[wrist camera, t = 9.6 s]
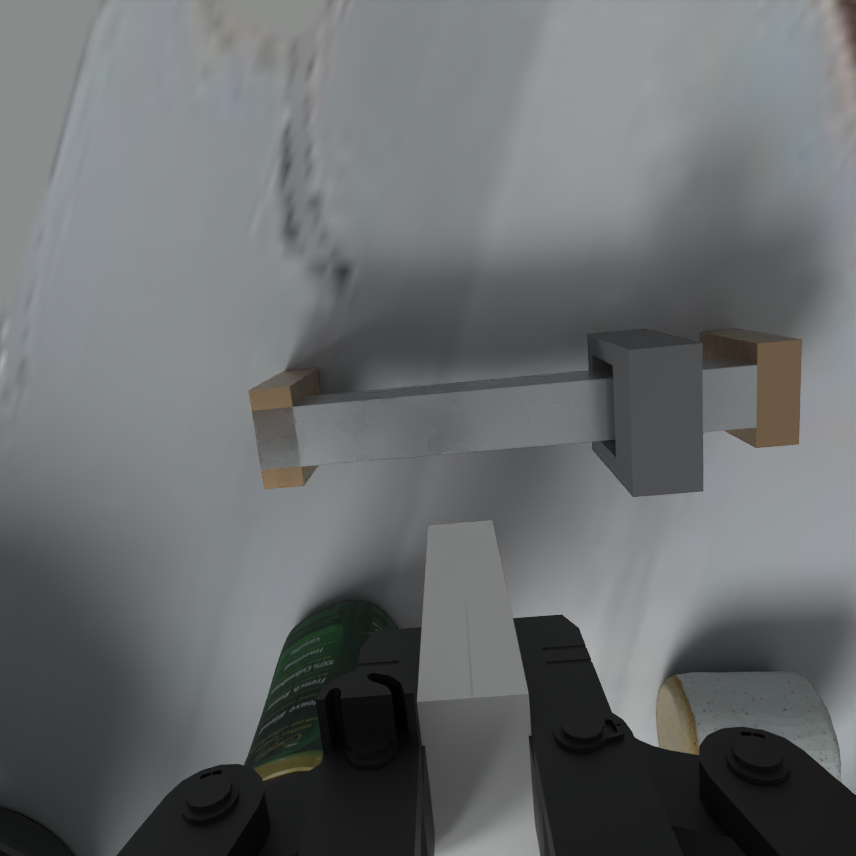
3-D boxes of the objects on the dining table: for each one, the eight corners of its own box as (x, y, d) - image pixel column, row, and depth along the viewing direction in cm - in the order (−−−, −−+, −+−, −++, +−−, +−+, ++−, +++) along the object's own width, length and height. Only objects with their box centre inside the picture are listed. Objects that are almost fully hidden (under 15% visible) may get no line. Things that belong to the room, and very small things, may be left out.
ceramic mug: (650, 648, 41) (695, 732, 34) (782, 645, 41) (856, 729, 34) (646, 789, 44) (686, 895, 36) (769, 786, 44) (836, 893, 36)
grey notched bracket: (592, 449, 36) (632, 496, 28) (587, 334, 35) (628, 349, 27) (646, 444, 36) (703, 491, 28) (644, 328, 35) (702, 343, 27)
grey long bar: (296, 453, 39) (263, 489, 32) (284, 370, 38) (248, 390, 31) (735, 415, 38) (799, 444, 31) (736, 328, 37) (802, 339, 30)
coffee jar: (267, 630, 42) (130, 895, 24) (375, 578, 41) (316, 813, 23) (342, 746, 44) (266, 1076, 26) (446, 699, 43) (445, 1008, 25)
